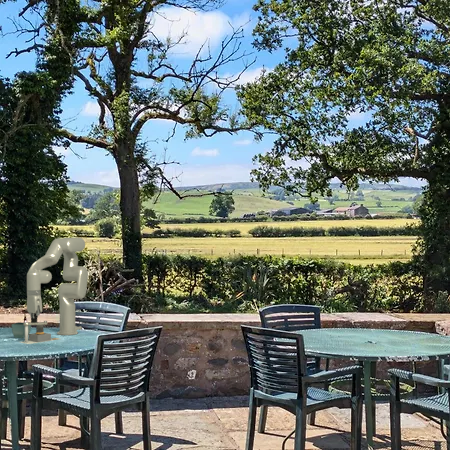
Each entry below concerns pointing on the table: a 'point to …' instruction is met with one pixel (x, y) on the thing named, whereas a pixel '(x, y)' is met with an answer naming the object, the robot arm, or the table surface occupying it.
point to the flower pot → (19, 330)
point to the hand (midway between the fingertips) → (34, 324)
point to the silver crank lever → (35, 323)
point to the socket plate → (36, 337)
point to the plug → (39, 329)
